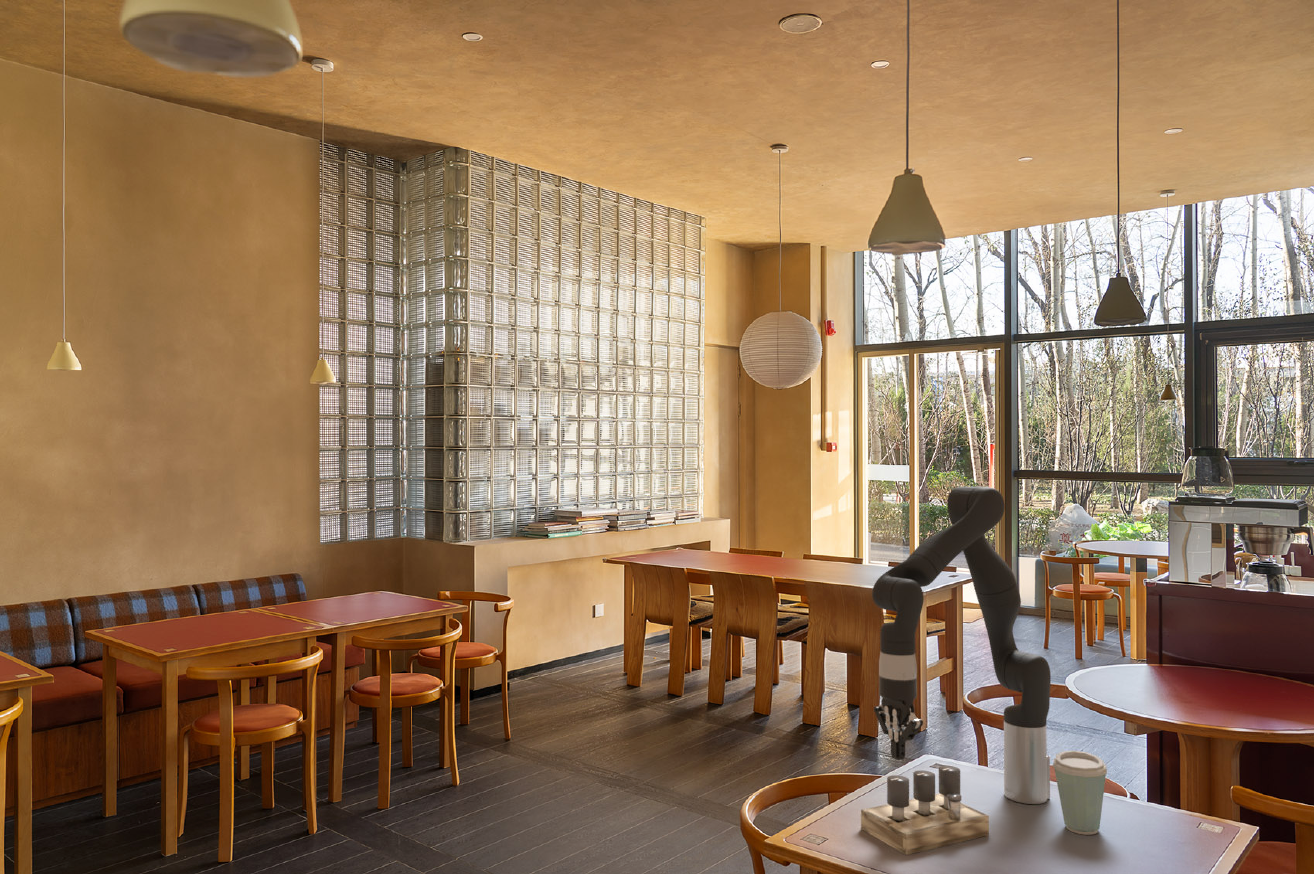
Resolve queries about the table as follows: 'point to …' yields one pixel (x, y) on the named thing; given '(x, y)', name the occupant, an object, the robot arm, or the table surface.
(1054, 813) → the table surface
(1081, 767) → the disposable coffee cup
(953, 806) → the capped glass vial
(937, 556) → the robot arm
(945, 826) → the mount
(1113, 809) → the table surface
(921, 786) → the knob mid
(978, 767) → the table surface
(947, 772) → the knob
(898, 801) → the knob
